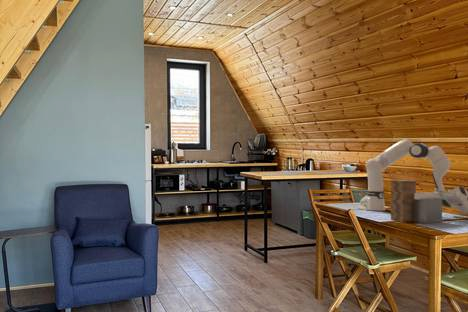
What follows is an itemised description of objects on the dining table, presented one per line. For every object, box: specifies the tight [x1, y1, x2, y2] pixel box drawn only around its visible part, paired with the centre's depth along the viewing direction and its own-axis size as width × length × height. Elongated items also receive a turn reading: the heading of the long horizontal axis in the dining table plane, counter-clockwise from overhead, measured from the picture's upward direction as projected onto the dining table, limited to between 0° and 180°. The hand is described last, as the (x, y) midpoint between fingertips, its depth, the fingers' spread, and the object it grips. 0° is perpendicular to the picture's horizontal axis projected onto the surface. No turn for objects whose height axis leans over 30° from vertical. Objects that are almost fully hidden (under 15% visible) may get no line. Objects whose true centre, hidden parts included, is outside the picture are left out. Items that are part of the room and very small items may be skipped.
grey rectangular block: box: [414, 191, 441, 200], centre depth 279 cm, size 4×20×4 cm, turn 116°
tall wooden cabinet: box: [389, 179, 417, 223], centre depth 286 cm, size 11×12×26 cm
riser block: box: [412, 198, 443, 225], centre depth 279 cm, size 10×14×15 cm
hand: (441, 189), depth 284 cm, fingers open, 8 cm apart
